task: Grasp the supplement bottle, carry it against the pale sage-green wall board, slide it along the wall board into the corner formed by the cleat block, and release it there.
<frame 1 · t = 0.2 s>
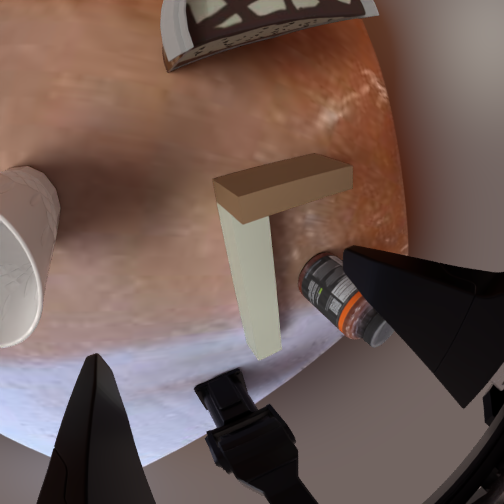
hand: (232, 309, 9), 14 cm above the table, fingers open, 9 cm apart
food container: (210, 18, 15), on the table
supplement bottle: (315, 272, 32), on the table
wall board: (246, 273, 27), on the table
white cup: (22, 209, 15), on the table
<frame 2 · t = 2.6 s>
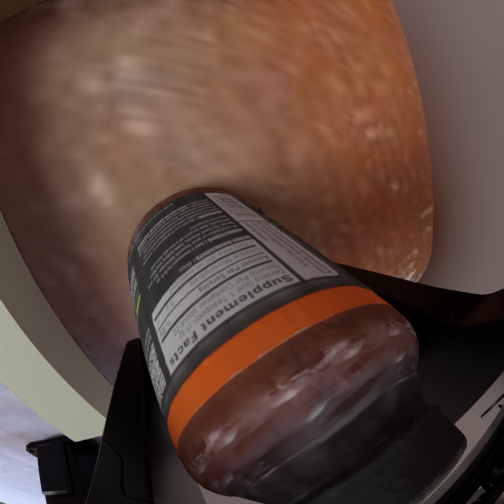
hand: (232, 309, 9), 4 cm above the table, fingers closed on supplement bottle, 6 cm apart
supplement bottle: (193, 250, 12), on the table, touching gripper
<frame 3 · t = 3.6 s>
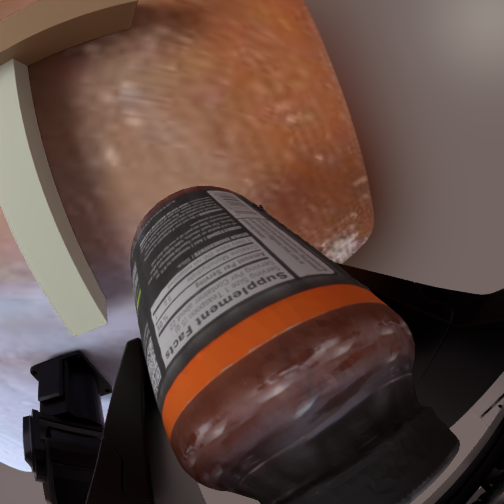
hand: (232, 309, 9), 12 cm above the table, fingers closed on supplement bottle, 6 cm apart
supplement bottle: (196, 247, 12), point 8 cm above the table, touching gripper
wall board: (34, 186, 14), on the table
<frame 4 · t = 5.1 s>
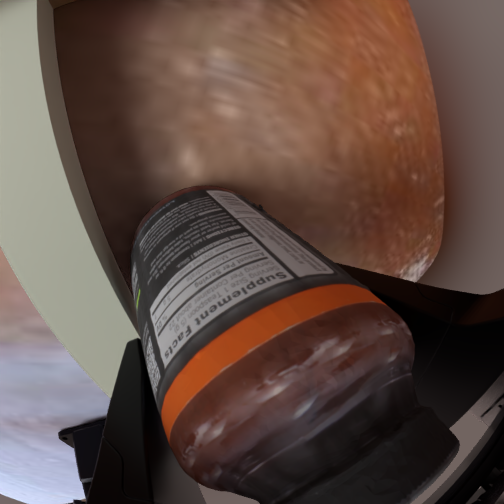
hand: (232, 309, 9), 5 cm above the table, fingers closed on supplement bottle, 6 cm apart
supplement bottle: (196, 247, 12), on the table, touching gripper
wall board: (56, 206, 9), on the table
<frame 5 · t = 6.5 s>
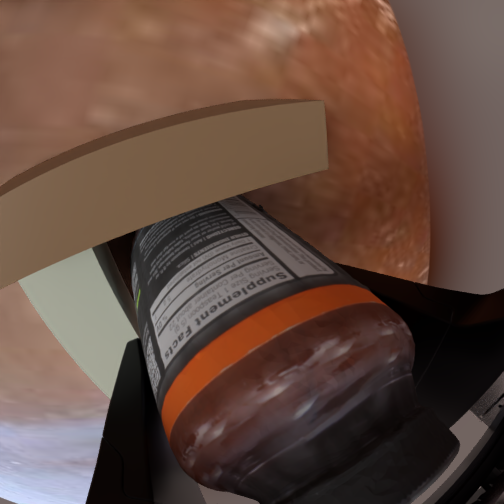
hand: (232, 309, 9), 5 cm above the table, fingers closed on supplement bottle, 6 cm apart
supplement bottle: (196, 247, 12), on the table, touching gripper
wall board: (128, 346, 13), on the table
when the fingers open (5 cm above the table, at t = 7.7 s): supplement bottle stays where it is, on the table.
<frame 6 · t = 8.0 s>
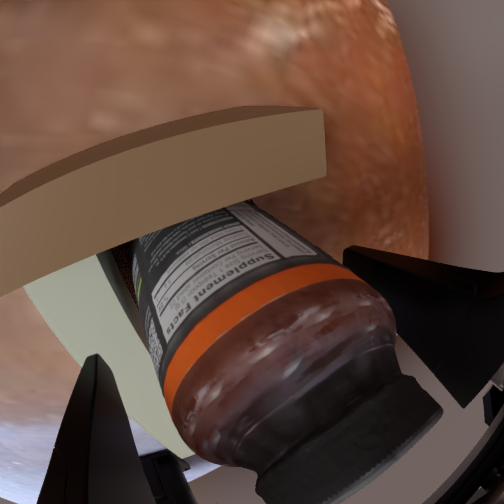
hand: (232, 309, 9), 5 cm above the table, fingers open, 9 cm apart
supplement bottle: (191, 241, 13), on the table
wall board: (129, 348, 13), on the table
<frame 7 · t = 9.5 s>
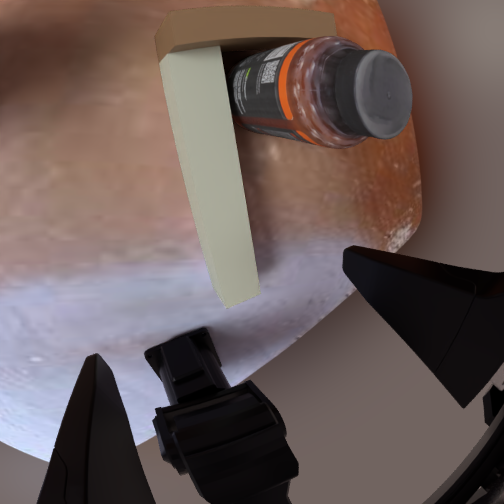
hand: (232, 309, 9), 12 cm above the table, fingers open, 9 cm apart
supplement bottle: (257, 93, 18), on the table
wall board: (203, 168, 19), on the table
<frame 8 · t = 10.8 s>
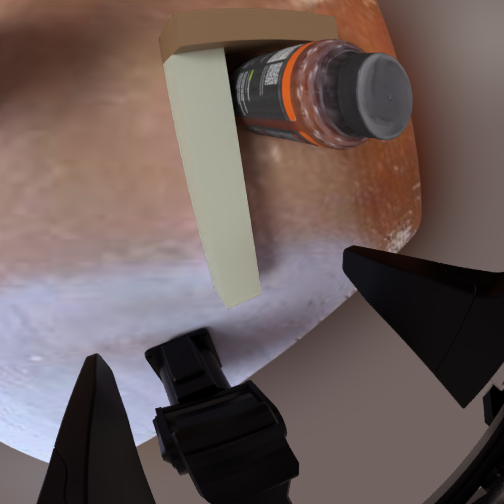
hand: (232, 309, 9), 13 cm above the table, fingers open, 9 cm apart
supplement bottle: (259, 95, 18), on the table
wall board: (205, 169, 19), on the table
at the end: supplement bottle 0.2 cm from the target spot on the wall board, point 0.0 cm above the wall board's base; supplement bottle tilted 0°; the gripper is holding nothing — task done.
